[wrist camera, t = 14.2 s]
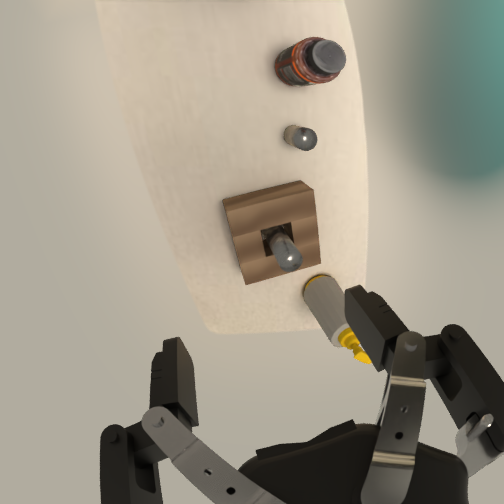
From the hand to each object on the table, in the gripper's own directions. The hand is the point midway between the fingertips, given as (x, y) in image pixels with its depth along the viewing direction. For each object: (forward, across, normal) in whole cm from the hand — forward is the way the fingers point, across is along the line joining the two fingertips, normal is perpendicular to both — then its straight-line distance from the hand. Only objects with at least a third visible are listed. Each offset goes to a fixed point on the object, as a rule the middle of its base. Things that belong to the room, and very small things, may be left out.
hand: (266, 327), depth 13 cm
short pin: (+30, -12, -3) cm, 33 cm away
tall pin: (+30, -6, +10) cm, 32 cm away
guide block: (+30, -6, +10) cm, 32 cm away
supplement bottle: (+30, -14, -13) cm, 36 cm away
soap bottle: (+30, -13, +25) cm, 41 cm away
